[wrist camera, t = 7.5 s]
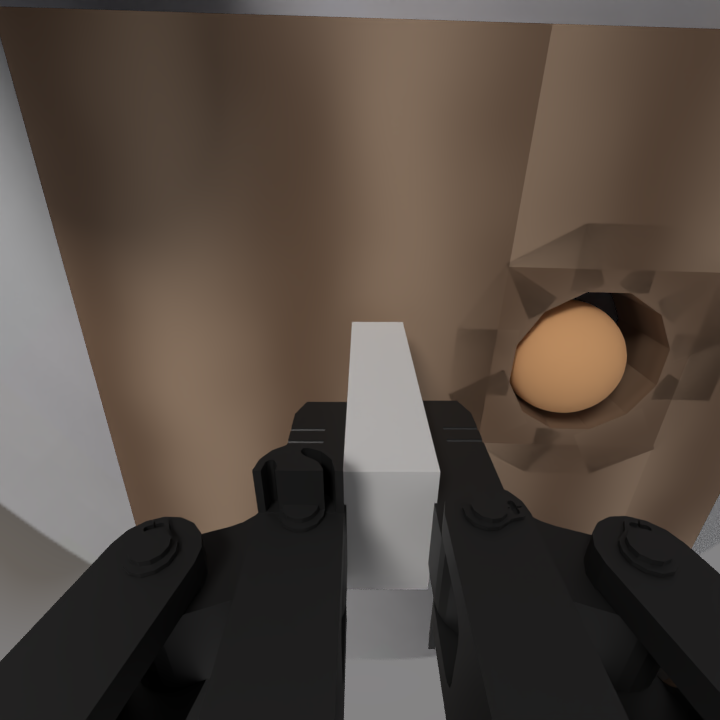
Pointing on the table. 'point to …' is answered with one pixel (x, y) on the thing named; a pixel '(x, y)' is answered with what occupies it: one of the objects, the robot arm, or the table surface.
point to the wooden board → (382, 236)
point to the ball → (569, 359)
